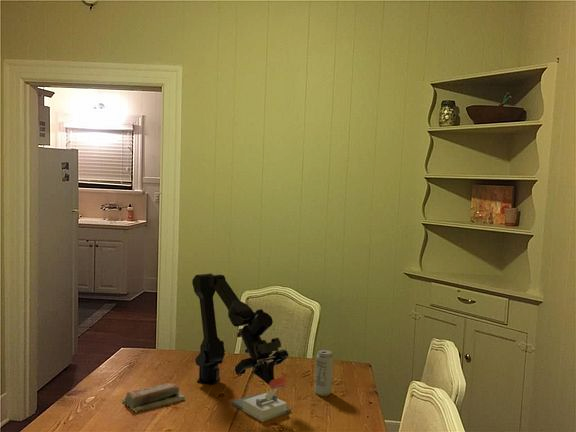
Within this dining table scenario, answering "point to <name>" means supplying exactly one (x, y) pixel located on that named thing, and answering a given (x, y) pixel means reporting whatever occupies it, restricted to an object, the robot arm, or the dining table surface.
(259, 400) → the switch panel
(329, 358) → the energy drink can
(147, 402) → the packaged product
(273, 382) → the switch lever
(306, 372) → the dining table surface
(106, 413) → the dining table surface
